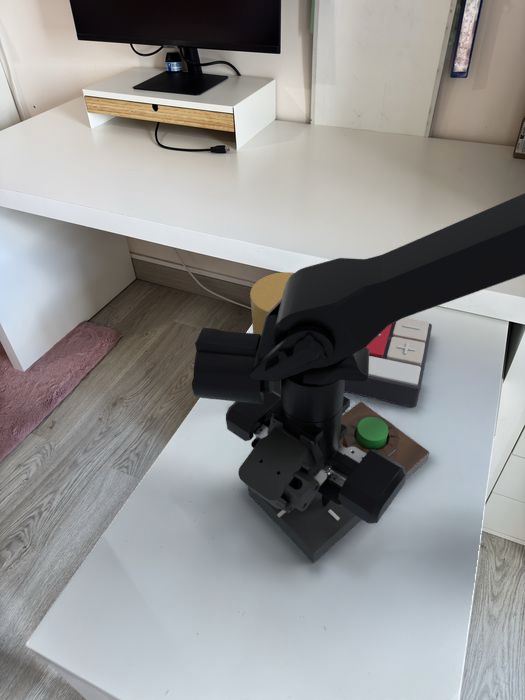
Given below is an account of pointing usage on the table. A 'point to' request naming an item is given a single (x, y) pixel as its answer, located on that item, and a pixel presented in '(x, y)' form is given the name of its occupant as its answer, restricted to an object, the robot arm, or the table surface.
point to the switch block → (396, 445)
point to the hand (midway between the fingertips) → (308, 491)
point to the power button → (372, 433)
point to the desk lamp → (267, 302)
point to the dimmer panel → (312, 524)
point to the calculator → (396, 363)
